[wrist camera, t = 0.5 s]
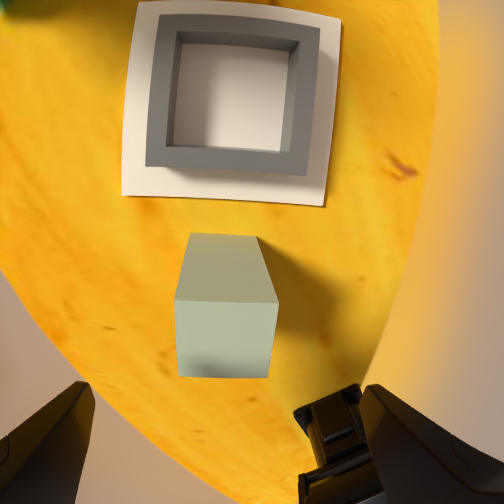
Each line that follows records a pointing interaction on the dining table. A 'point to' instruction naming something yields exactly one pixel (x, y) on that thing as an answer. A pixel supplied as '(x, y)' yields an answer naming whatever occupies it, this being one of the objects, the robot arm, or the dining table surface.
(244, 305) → the sage block
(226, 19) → the socket
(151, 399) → the dining table surface
